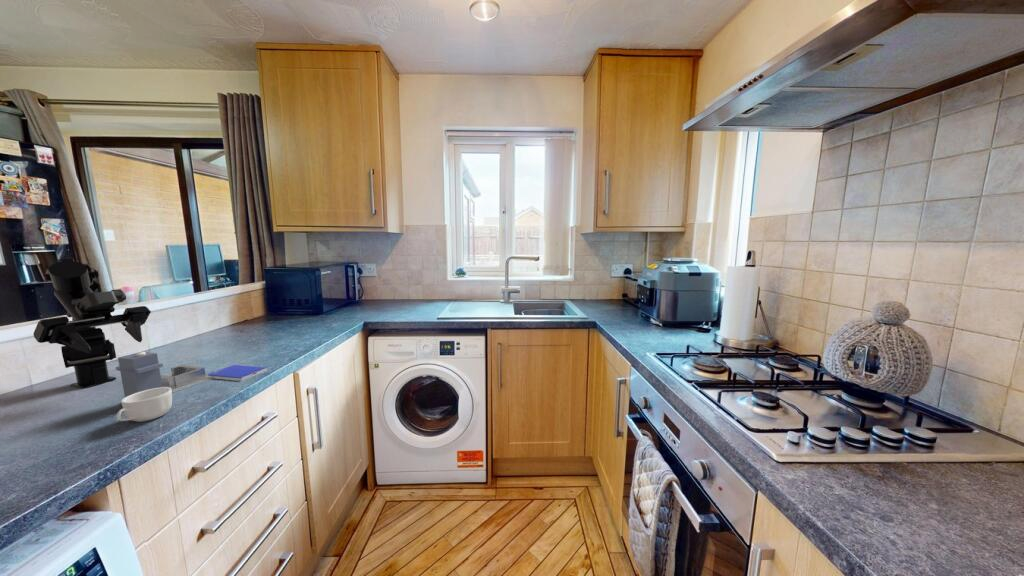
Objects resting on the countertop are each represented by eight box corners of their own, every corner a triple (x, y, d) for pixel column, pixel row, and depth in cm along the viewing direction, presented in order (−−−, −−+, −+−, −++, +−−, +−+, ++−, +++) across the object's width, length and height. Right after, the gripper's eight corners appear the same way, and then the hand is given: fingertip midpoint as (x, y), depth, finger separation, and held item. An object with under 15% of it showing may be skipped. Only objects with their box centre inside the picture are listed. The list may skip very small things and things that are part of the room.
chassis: (137, 387, 92) (135, 376, 91) (181, 373, 101) (180, 363, 101) (172, 392, 88) (170, 380, 88) (214, 378, 98) (213, 367, 97)
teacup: (152, 408, 80) (149, 387, 79) (184, 408, 80) (181, 386, 79) (101, 431, 70) (97, 407, 69) (138, 431, 70) (134, 407, 69)
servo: (122, 403, 83) (113, 354, 81) (146, 395, 87) (138, 348, 85) (144, 407, 80) (136, 356, 79) (168, 398, 85) (160, 351, 83)
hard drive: (207, 374, 98) (240, 377, 95) (235, 364, 106) (267, 366, 103) (207, 379, 98) (241, 382, 96) (235, 368, 106) (267, 371, 103)
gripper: (30, 285, 75) (69, 335, 73) (140, 277, 92) (174, 317, 91) (17, 318, 78) (55, 366, 76) (126, 304, 95) (159, 343, 94)
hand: (116, 346), depth 84 cm, fingers open, 9 cm apart
